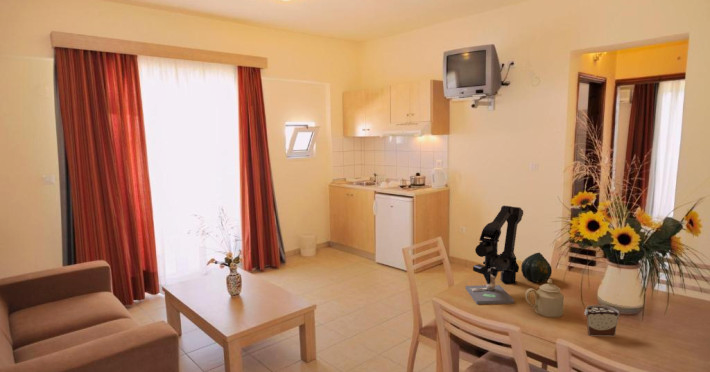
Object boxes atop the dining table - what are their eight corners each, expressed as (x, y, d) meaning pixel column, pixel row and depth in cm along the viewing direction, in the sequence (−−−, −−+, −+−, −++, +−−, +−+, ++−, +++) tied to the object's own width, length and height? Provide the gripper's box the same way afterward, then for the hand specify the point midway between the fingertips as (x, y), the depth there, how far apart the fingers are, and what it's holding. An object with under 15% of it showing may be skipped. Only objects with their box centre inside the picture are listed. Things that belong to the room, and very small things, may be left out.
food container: (610, 328, 164) (612, 304, 163) (619, 336, 158) (620, 311, 157) (577, 328, 165) (579, 304, 164) (584, 335, 159) (586, 310, 158)
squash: (521, 274, 211) (542, 252, 210) (511, 266, 226) (530, 246, 225) (542, 292, 212) (563, 270, 210) (531, 283, 227) (550, 262, 225)
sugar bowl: (545, 322, 171) (547, 287, 169) (523, 312, 181) (524, 279, 179) (568, 313, 178) (570, 280, 176) (545, 304, 188) (546, 272, 186)
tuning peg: (491, 287, 206) (491, 273, 205) (496, 290, 201) (497, 276, 200) (470, 289, 204) (470, 275, 203) (474, 292, 199) (474, 278, 198)
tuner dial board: (499, 287, 209) (499, 284, 209) (514, 303, 190) (514, 299, 190) (465, 288, 209) (465, 285, 209) (476, 304, 190) (476, 300, 190)
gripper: (490, 259, 189) (490, 292, 191) (518, 252, 198) (517, 284, 200) (472, 253, 199) (472, 285, 201) (499, 247, 208) (498, 277, 210)
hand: (490, 283), depth 203 cm, fingers closed on tuning peg, 2 cm apart
